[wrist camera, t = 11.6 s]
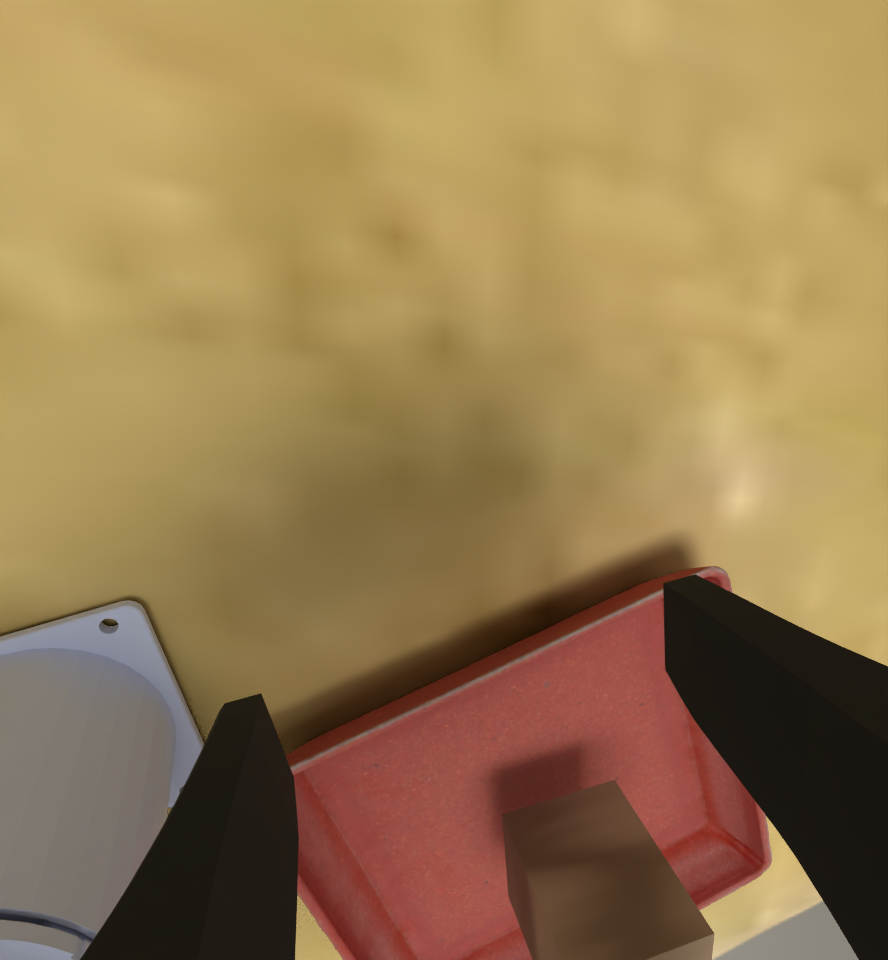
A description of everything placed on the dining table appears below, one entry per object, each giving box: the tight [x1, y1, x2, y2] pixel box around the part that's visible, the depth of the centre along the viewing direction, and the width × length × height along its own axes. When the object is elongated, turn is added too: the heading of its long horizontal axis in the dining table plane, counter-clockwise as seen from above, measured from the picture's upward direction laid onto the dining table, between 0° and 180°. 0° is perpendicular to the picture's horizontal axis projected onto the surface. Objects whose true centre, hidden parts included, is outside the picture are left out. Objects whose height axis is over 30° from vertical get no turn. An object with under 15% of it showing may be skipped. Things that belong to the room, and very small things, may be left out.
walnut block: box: [502, 780, 714, 960], centre depth 23 cm, size 4×4×6 cm
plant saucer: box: [286, 566, 772, 960], centre depth 27 cm, size 18×18×3 cm
